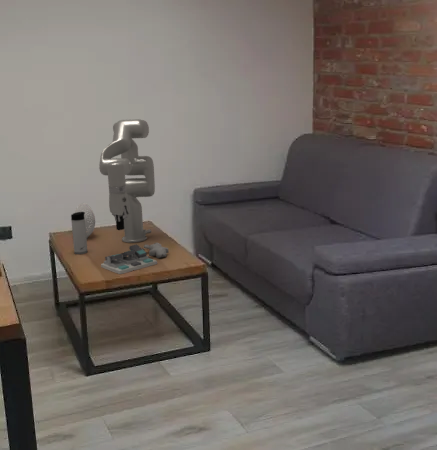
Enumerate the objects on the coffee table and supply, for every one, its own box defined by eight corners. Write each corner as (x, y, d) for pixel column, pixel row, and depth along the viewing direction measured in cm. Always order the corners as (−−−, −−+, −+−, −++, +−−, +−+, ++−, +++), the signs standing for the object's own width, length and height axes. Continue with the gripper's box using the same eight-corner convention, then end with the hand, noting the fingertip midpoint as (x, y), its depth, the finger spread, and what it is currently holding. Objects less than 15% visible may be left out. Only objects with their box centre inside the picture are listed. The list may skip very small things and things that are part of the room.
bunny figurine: (153, 252, 316) (141, 241, 329) (153, 262, 318) (141, 251, 331) (172, 249, 320) (159, 238, 333) (172, 259, 322) (159, 248, 335)
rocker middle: (125, 256, 316) (124, 252, 316) (134, 253, 309) (133, 249, 309) (118, 258, 313) (117, 254, 313) (127, 255, 307) (126, 251, 307)
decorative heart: (74, 233, 370) (71, 202, 365) (94, 231, 372) (92, 200, 368) (77, 242, 353) (74, 209, 349) (98, 240, 355) (95, 207, 351)
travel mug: (85, 254, 330) (81, 213, 326) (72, 254, 332) (68, 213, 327) (90, 250, 336) (86, 210, 332) (77, 250, 338) (73, 210, 333)
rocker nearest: (136, 247, 319) (136, 243, 319) (146, 255, 315) (146, 252, 314) (129, 248, 317) (129, 245, 316) (139, 257, 312) (139, 254, 311)
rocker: (113, 258, 311) (112, 254, 311) (122, 257, 305) (121, 253, 305) (105, 260, 309) (104, 256, 309) (114, 259, 303) (114, 255, 303)
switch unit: (138, 257, 323) (137, 246, 321) (157, 263, 312) (156, 252, 310) (101, 267, 310) (100, 255, 309) (119, 274, 299) (118, 262, 298)
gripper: (134, 190, 303) (137, 230, 308) (115, 185, 314) (118, 225, 319) (119, 193, 299) (122, 234, 303) (101, 188, 309) (104, 228, 314)
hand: (120, 229), depth 311 cm, fingers closed
